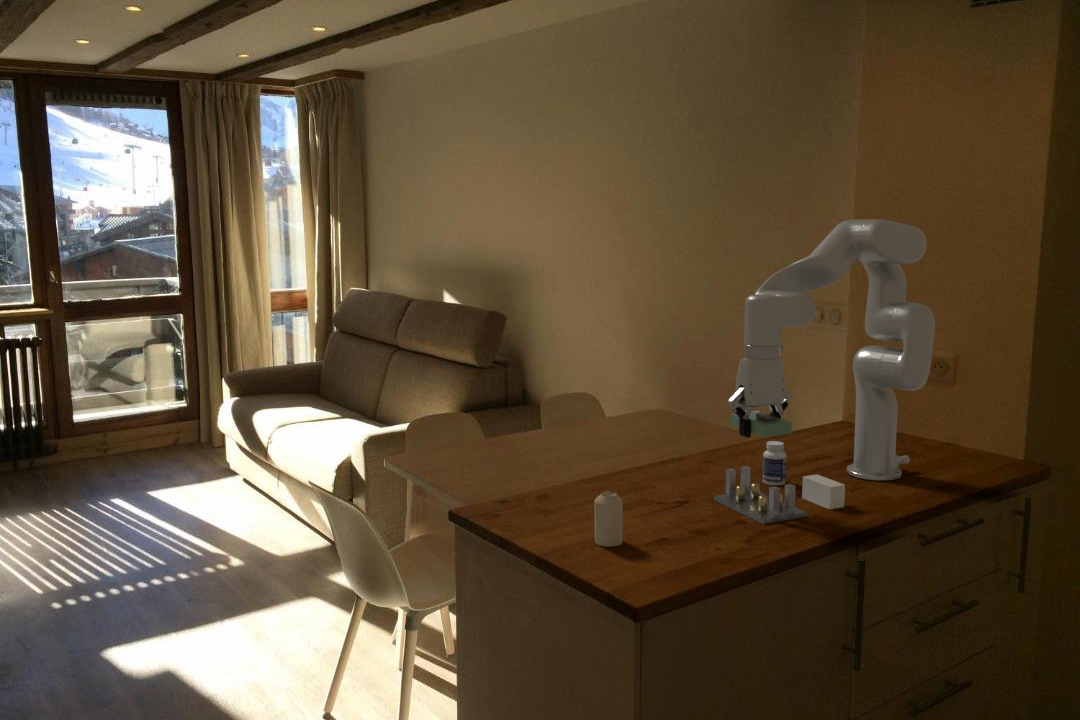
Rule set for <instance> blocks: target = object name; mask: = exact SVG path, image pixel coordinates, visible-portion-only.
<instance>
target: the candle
mask: <svg viewBox="0 0 1080 720" xmlns="http://www.w3.org/2000/svg"><path fill="white" fill-rule="evenodd" d="M593 502H594V503H593V504H594V506H593V507H594V511H593V512H594V542H595V544H597V545H598V546H600V547H610V548H612V547H617V546H620V545H622V544H623V541H624V539H623V535H624V532H623V529H624V527H623V523H624V519H623V516H624V515H623V511H624V510H623V507H624V506H623V502H624V501H623V499H622V497H620V496H619V495H618V493H617V492H614V493H613V492H611V491H610V490H606V491H603V492H602V493H600V494H599V495H598V496H596V498H595V499H594V501H593Z"/></svg>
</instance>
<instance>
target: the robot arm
mask: <svg viewBox="0 0 1080 720" xmlns="http://www.w3.org/2000/svg"><path fill="white" fill-rule="evenodd" d="M927 245H928V244H927V238H926V235H925V233H924V232H923V231H922V229H920V228H919V227H917V226H914V225H911V224H906V223H905V224H904V223H901V222H897V221H892V220H886V219H875V218H874V219H868V218H867V219H866V218H865V219H864V218H862V219H859V218H857V219H847V220H843V221H841V222H839V223H838V224H837V225H836V226H835V227H834V228H833V229H832V230H831V231H830V232H829V233H828V234H827V235H826V236H825V238H824V239H823V240H822V241H821V242H820V243H819V244H818V246H817V247H815V248H814V250H813V251H812V252H811V253H810V254H809V255H808V256H806V257H803V258H801V259H799V260H797V261H795V262H792V263H791V264H789V265H788V266H785V267H784V268H780V270H778V271H776V272H775V273H773V274H772V275H771V276H769V277H768V278H767V279H766V280H765V281H764V282H763V283H762V285H761V286H759V288H758V289H757V290H756V291H755V293H754V294H750V295H748V296H747V297H746V299H745V305H744V333H743V334H744V337H743V338H744V339H743V340H744V341H743V343H744V344H743V358H740V360H739V364H738V368H737V373H736V378H735V379H736V380H735V389H734V390H735V393H734V394H733V395H732V396H731V397H730V398H729V399H728V400H727V404H728V405H729V407H730V408H731V409H732V411H733V412H734V414H737V417H739V428H738V431H739V436H742V437H745V438H748V439H749V438H751V437H752V433H751V419H749V416H750V414H751V412H752V411H753V409H754V408H758V407H768V406H769V409H770V411H771V412H770V413H769V414H768V415H770V416H774V417H776V418H780V419H782V416H783V415H784V414H785V412H784V411H785V410H786V409H787V408H788V406H789V404H790V402H791V401H792V399H793V397H794V395H793V394H792V393H791V392H790V391H789V390H788V389H787V388H786V379H785V378H786V377H785V368H784V362H783V359H782V358H781V353H783V352H784V349H785V348H784V346H783V345H782V343H781V341H782V328H783V327H785V328H787V327H788V328H801V327H802V328H803V327H805V326H807V325H809V324H810V323H811V322H812V321H813V319H814V318H815V315H816V312H817V311H816V310H817V309H816V304H815V302H814V300H813V298H811V297H810V296H809V295H808V294H806V292H810V291H815V290H819V289H825V288H826V287H829V286H832V285H835V284H836V283H837V282H839V281H840V280H841V278H842V277H843V276H844V275H845V274H846V273H847V271H849V270H850V268H851V267H852V266H853V265H854V264H855V262H856V261H857V260H859V261H860V263H861V264H862V266H863V267H864V269H865V272H866V274H867V275H866V276H867V278H868V292H867V297H866V298H867V300H866V309H865V315H864V317H865V318H864V330H865V331H864V332H865V333H866V335H867V337H870V338H871V339H874V340H877V341H878V340H879V341H885V342H893V343H901V344H903V348H900V347H893V346H885V345H867V346H864V347H861V348H860V349H859V350H858V351H857V352H855V354H854V357H853V361H852V371H853V377H854V383H855V419H854V443H853V444H854V445H853V463H851V464H849V465H847V467H846V472H847V474H848V475H850V476H853V477H854V478H858V479H863V480H868V481H894V480H897V479H900V478H901V476H902V473H903V471H902V470H901V469H900V468H899V466H900V465H901V464H902V465H904V464H909V463H910V457H909V455H907V454H906V455H900V456H899V455H897V453H896V451H897V449H896V447H897V446H896V445H897V427H898V412H899V409H898V408H899V407H898V406H899V405H898V404H899V403H898V400H897V396H896V395H895V392H894V390H893V389H898V390H905V391H914V392H915V391H918V390H920V389H922V388H923V387H924V386H925V384H926V383H927V382H928V379H929V375H930V370H931V363H932V355H933V349H934V348H933V347H934V340H935V339H934V338H935V333H936V332H935V330H936V320H935V316H934V313H933V311H932V309H930V307H929V306H927V305H925V304H923V303H919V302H918V303H917V302H907V300H906V299H907V284H908V282H907V276H906V274H905V272H904V269H903V268H902V266H901V264H903V265H912V264H915V263H917V262H919V261H920V260H921V259H922V258H923V257H924V255H925V254H926V251H927V247H928V246H927Z"/></svg>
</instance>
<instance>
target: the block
mask: <svg viewBox="0 0 1080 720" xmlns="http://www.w3.org/2000/svg"><path fill="white" fill-rule="evenodd" d="M801 488H802V490H801V491H802V493H801V498H802V499H803V500H806V501H808V502H811V503H812V504H815V505H818V506H820V507H823V508H826V509H827V510H829V509H830V510H834V509H835V508H836V509H840V508H845V495H846V493H845V492H846V490H845V489H846V484H843V483H842V482H841V483H840V482H839V481H836V480H833V479H830V478H828V477H825V476H823V475H821V474H820V475H819V474H818V473H817V474H811V475H804V476H802V487H801ZM836 509H835V510H836Z"/></svg>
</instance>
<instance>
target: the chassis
mask: <svg viewBox="0 0 1080 720" xmlns="http://www.w3.org/2000/svg"><path fill="white" fill-rule="evenodd" d="M780 491H781V489H780V487H778V486H770V487H769V489H768V494H766V493H764V492H762V491H760V483H755V482H754V483H753V482H752V483H751V467H749V466H747V465H745V466H741V467H740V484H739V485H736V469H734V468H726V469H725V493H724V494H718V495H714V496H713V501H715V502H717V503H718V504H721V505H723V506H725V507H727V508H728V509H731V510H733V511H736V512H737V513H740V514H742V515H744V516H745V517H748V518H750V519H752V520H754V521H756V522H758V523H760V524H762V525H768V524H773V523H779V522H785V521H790V520H796V519H800V518H801V519H802V518H806V517H807V511H805V510H803V509H800V508H798V507H796V485H794V484H791V483H789V484H784V495H783V493H781V492H780ZM783 496H784V498H783ZM783 500H784V501H783Z"/></svg>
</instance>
